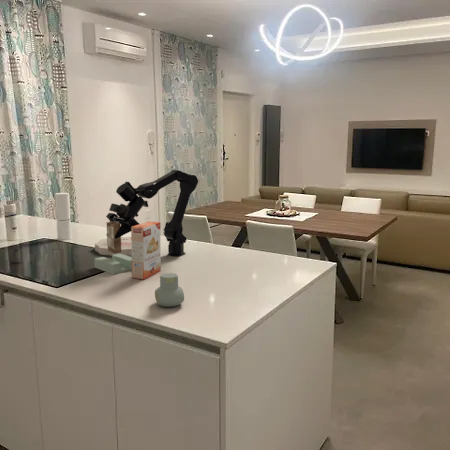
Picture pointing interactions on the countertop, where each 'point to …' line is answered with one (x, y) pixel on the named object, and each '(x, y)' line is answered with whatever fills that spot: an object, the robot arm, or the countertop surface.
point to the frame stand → (114, 263)
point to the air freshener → (169, 291)
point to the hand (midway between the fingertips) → (111, 237)
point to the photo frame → (113, 243)
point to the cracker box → (145, 249)
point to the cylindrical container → (63, 216)
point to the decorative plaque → (103, 250)
